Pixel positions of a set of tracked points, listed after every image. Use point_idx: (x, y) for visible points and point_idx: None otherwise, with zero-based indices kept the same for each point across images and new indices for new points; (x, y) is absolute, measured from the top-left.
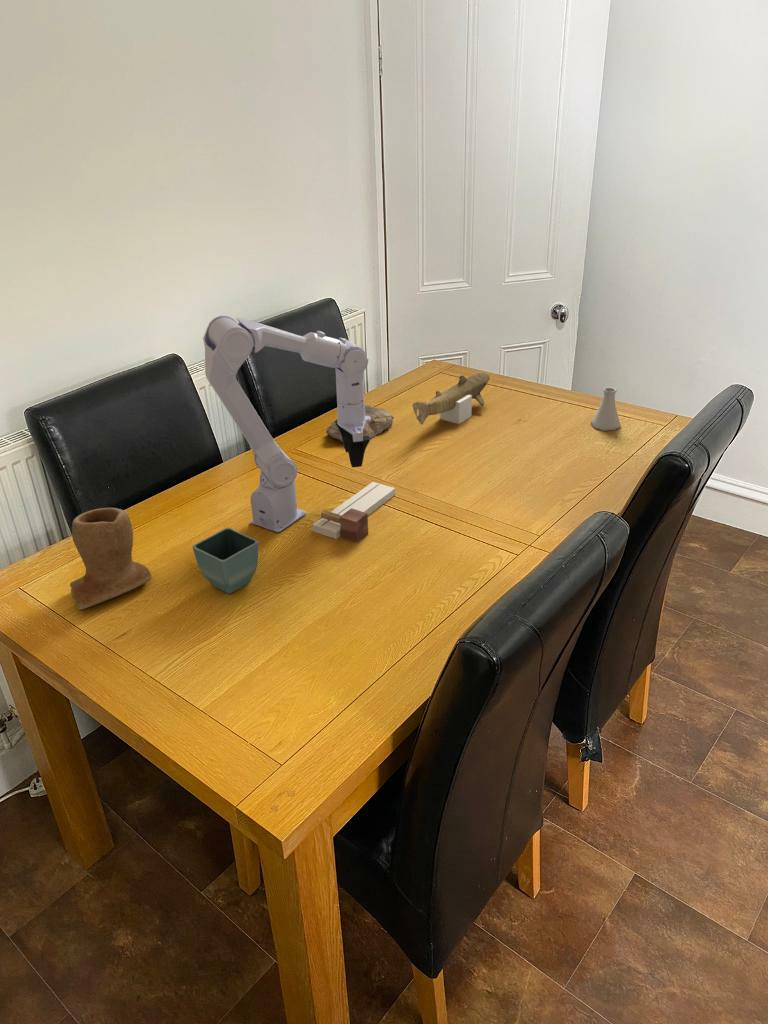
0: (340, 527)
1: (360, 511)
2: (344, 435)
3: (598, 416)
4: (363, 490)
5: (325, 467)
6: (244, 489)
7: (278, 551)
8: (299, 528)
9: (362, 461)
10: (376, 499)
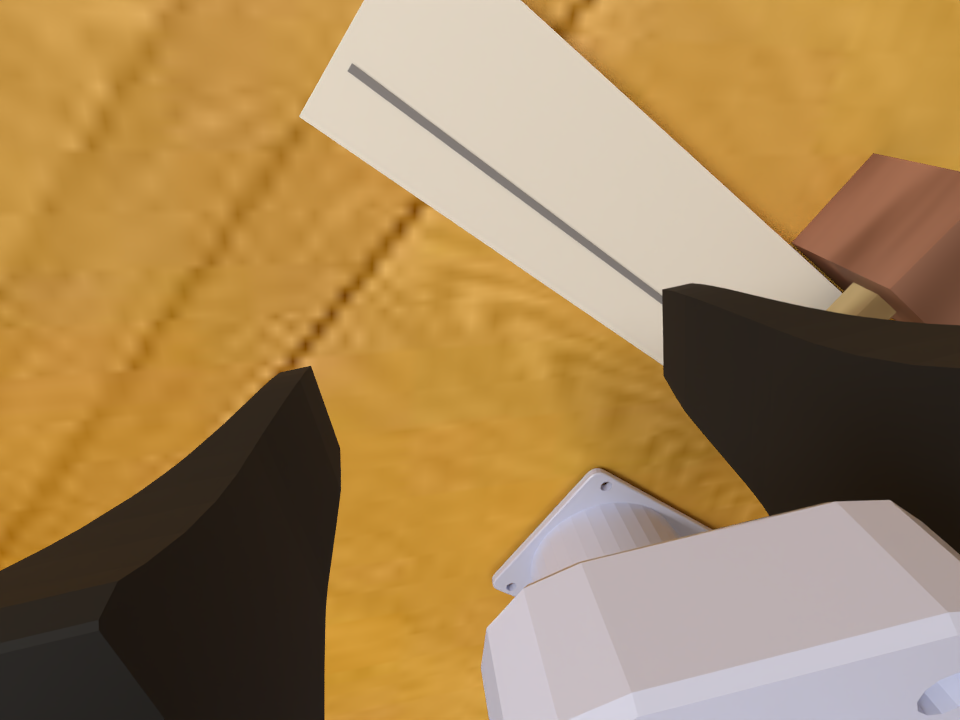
0: (894, 319)
1: (956, 228)
2: (311, 614)
3: None
4: (443, 193)
5: (25, 439)
6: (340, 704)
7: None
8: (709, 473)
9: (729, 292)
10: (587, 94)
